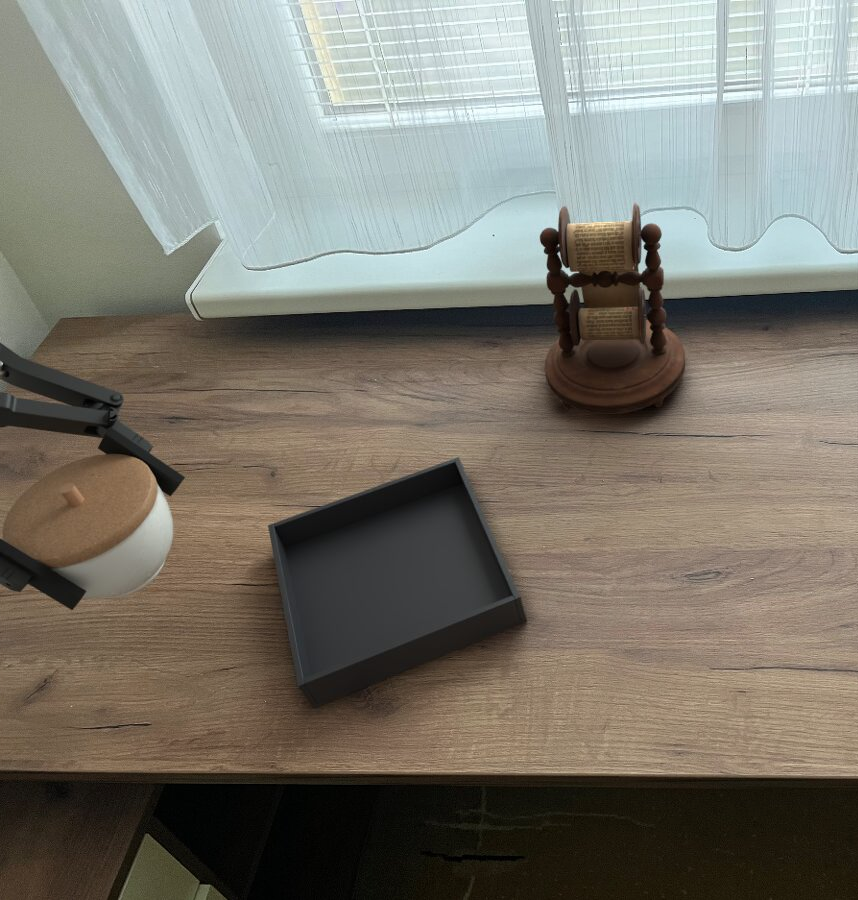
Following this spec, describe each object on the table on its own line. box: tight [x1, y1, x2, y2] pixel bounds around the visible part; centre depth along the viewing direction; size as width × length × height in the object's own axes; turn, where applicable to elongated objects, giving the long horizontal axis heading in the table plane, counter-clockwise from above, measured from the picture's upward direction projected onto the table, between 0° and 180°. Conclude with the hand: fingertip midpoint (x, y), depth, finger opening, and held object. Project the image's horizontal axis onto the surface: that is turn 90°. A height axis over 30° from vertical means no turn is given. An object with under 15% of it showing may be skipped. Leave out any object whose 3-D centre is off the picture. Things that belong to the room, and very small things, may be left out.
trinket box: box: [1, 453, 174, 600], centre depth 67 cm, size 11×11×9 cm
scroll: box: [539, 202, 686, 415], centre depth 86 cm, size 15×15×20 cm
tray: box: [267, 456, 528, 709], centre depth 75 cm, size 18×18×3 cm
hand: (131, 540), depth 66 cm, fingers closed on trinket box, 11 cm apart
